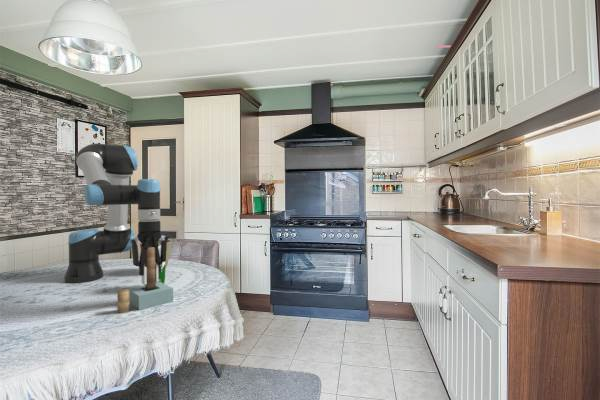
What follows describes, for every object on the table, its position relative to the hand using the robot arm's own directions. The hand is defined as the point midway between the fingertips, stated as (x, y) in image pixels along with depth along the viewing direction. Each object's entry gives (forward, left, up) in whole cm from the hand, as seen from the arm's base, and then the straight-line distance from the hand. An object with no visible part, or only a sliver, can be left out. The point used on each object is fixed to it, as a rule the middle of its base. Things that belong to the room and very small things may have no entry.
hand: (150, 282), depth 115 cm
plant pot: (-41, +18, -7) cm, 46 cm away
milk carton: (-15, +7, -7) cm, 18 cm away
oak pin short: (+3, -10, -7) cm, 13 cm away
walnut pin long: (0, 0, -3) cm, 3 cm away
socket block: (0, 0, -7) cm, 7 cm away
